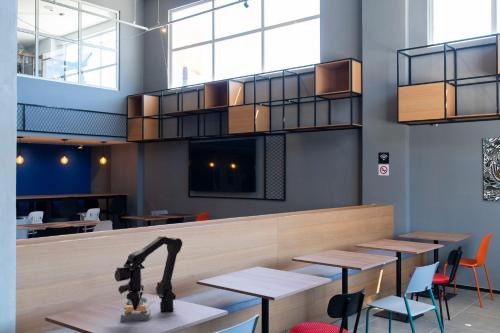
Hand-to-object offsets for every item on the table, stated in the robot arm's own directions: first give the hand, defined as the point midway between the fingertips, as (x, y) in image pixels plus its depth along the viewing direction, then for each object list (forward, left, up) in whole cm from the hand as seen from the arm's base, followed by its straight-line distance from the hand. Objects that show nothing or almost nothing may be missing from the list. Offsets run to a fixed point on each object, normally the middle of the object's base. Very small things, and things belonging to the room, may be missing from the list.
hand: (135, 308), depth 246 cm
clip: (0, 0, -5) cm, 5 cm away
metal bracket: (+3, -25, -6) cm, 26 cm away
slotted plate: (0, 0, -5) cm, 5 cm away
